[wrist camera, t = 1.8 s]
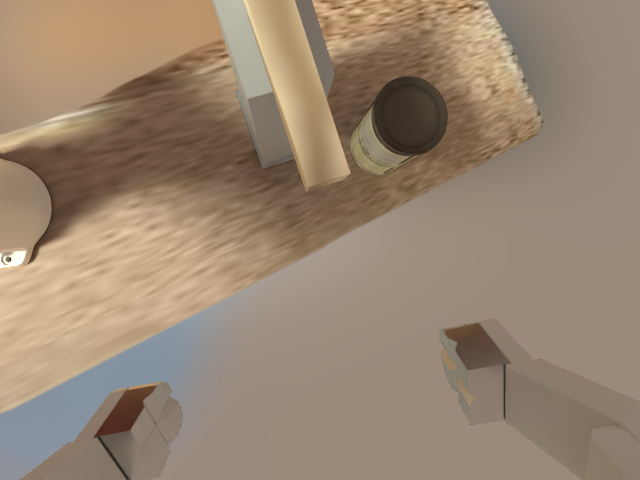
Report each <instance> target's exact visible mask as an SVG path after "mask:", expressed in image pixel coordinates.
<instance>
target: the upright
mask: <svg viewBox="0 0 640 480" xmlns="http://www.w3.org/2000/svg"><path fill="white" fill-rule="evenodd" d="M295 2H296V5H297V9H298V12H299V15H300V18H301V21H302V24H303V27H304V30H305V33H306V37H307V40H308V43H309V46H310V49H311V52H312V55H313V58H314V61H315V65H316V68H317V71H318V74H319V77H320V80H321V83H322V86H323V89H324V93H325V96H326V99H327V97H328V94H329V91H330V88H331V85H332V82H333V80H334V77H335V72H334V69H333V66H332V63H331V60H330V56H329V53H328V50H327V47H326V44H325V41H324V38H323V34H322V31H321V28H320V25H319V22H318V19H317V16H316V12H315V9H314V6H313V3H312V0H295ZM213 4H214V7H215V11H216V14H217V17H218V21H219V24H220V27H221V31H222V34H223V38H224V41H225V44H226V48H227V51H228V55H229V58H230V61H231V65H232V68H233V71H234V75H235V78H236V82H237V85H238V88H239V90H236V93H237V96H238V99H239V102H240V105H241V108H242V111H243V113H244V116H245V119H246V122H247V125H248V128H249V131H250V134H251V137H252V140H253V143H254V146H255V149H256V152H257V155H258V158H259V161H260V164H261V167H262V169H265V168H268V167H271V166H274V165H278V164H281V163H284V162H287V161H291V160H294V159H295V158H294V155H293V152H292V149H291V146H290V143H289V140H288V137H287V134H286V131H285V127H284V124H283V121H282V118H281V115H280V112H279V109H278V106H277V103H276V100H275V97H274V94H273V91H272V88H271V85H270V82H269V79H268V76H267V73H266V70H265V67H264V64H263V61H262V58H261V55H260V52H259V49H258V46H257V43H256V40H255V37H254V34H253V31H252V28H251V25H250V22H249V19H248V16H247V13H246V10H245V7H244V4H243V1H242V0H213Z"/></svg>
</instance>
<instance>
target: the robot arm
mask: <svg viewBox="0 0 640 480" xmlns="http://www.w3.org/2000/svg"><path fill="white" fill-rule="evenodd" d="M51 212H52V206H51V199H50V195H49V193H48V190H47V188H46V186H45V185H44V183H43V182H42V180H41V179H40V178H39V177H38V176H37V175H36V174H35V173H34V172H32V171H31V170H30V169H28V168H26V167H25V166H23V165H21V164H18V163H15V162H12V161H8V160H4V159H1V158H0V269H3V268H11V267H19V266H24V265H26V264H27V263H28V262H29V260H30V258H31V255H32V252H33V248H34V245H35V244H36V242H37V241H38V240H39V239H40V238H41V236H42V235H43V234H44V232H45V231H46V229H47V227H48V225H49V222H50V218H51ZM10 257H11V259H12V260H11V261H10V260H9V258H10ZM439 338H440V342H441V344H442V346H443V348H444V350H443V351H442V352H441V358H442V364H443V368H444V372H445V375H446V377H447V380H448V382H449V384H450V386H451V388H452V389H454V390H455V391H457V392H458V399H459V404H460V405H461V407H462V409H463V411H464V413H465V415H466V417H467V419H468V421H469V423H470V425H473V424H481V423H488V422H494V421H502V420H505V422H506V423H507V424H509V425H510V426H511V427H513V428H514V429H515V430H517V431H518V432H519V433H521V434H522V435H523V436H525V437H526V438H527V439H528V440H530V441H531V442H533V443H534V444H535V445H536V446H538V447H539V448H540V449H542V450H543V451H544V452H546V453H547V454H549V455H550V456H551V457H552V458H554V459H555V460H556V461H558V462H559V463H561V464H562V465H563V466H564V467H566V468H567V469H568V470H570V471H571V472H572V473H574V474H575V475H576V476H578V477H579V478H580V479H582V480H640V401H637V400H635V399H633V398H630V397H628V396H626V395H623V394H621V393H619V392H616V391H614V390H612V389H609V388H607V387H605V386H602V385H600V384H598V383H596V382H593V381H591V380H588V379H586V378H584V377H582V376H579V375H577V374H575V373H572V372H570V371H568V370H565V369H563V368H561V367H559V366H556V365H554V364H552V363H549V362H547V361H545V360H542V359H533V358H532V357H531V356H530V355H529V353H528V352H527V351H526V350H525V349H524V348H523V347H522V346H521V345H520V344H519V343H518V342H517V341H516V339H515V338H514V337H513V336H512V335H511V334H510V333H509V332H508V331H507V330H506V329H505V328H504V326H503V325H502V324H500V322H499V321H498V320H496V319H494V318H493V319H488V320H484V321H479V322H475V323H470V324H465V325H461V326H455V327H450V328H445V329H440V331H439ZM171 393H172V389H171V388H170V386H169V384H168V383H167V382H157V383H151V384H144V385H138V386H132V387H128V388H122V389H116V390H114V391H113V392H111V393H110V394H109V395H108V396H107V398H106V399H105V400H104V402H103V403H102V404H101V406H100V407H99V408H98V410H97V411H96V412H95V414H94V415H93V416H92V418H91V419H90V421H89V422H88V423H87V424H86V426H85V427H84V429H83V430H82V431H81V433H80V434H79V435H78V436H77V438H76V439H75V440H74V442H70V443H67V444H66V445H64V446H63V447H62V448H61V449H59V450H58V451H57V452H55V453H54V454H53V455H51V456H50V457H49V458H48V459H46V460H45V461H44V462H42V463H41V464H40V465H38V466H37V467H36V468H35V469H33V470H32V471H31V472H30V473H28V474H27V475H25V476H24V477H23V478H22V479H20V480H147V479H152V478H157V477H160V475H161V473H162V470H163V468H164V466H165V464H166V461H167V459H168V457H169V455H170V452H171V451H170V448H169V444H170V443H171V442H172V441H173V440H174V439H175V438H176V437H177V436H178V434H179V431H180V429H181V425H182V416H183V415H182V410H181V406H180V404H179V402H178V401H176V400H175V399H173V398H171V397H170V396H171Z"/></svg>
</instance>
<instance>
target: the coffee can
mask: <svg viewBox="0 0 640 480" xmlns="http://www.w3.org/2000/svg"><path fill="white" fill-rule="evenodd" d="M447 118H448V115H447V108H446V105H445V102H444V100H443V98H442V96H441V94H440V93H439V91H438V90H437V89H436V88H435V87H434V86H433V85H431V84H430V83H429V82H427V81H425V80H423V79H420V78H417V77H401V78H397V79H394V80H392V81H391V82H389V83H388V84H386V85H385V86H384V87H383V88H382V89H381V91H380V92H379V93H378V95H377V97H376V99H375V101H374V102H373V104H372V105H371V107H370V108H369V110H368V111H367V113H366V114H365V116H364V117H363V118H362V120H361V121H360V123H359V124H358V125H357V126H356V128H355V129H354V131H353V133H352V136H351V141H350V148H351V153H352V156H353V158H354V160H355V162H356V163H357V164H358V165H359V166H360V167H361V168H362V169H363V170H365V171H367V172H369V173H372V174H378V175H381V174H387V173H389V172H391V171H393V170H395V169H396V168H397V167H399V166H401V165H403V164H404V163H406V162H408V161H410V160H411V159H413V158H415V157H417V156H418V155H421V154H423V153H426V152H428V151H429V150H431V149H432V148H434V147H435V146H436V145H437V144H438V143H439V142H440V140H441V139H442V137H443V135H444V133H445V130H446V126H447Z"/></svg>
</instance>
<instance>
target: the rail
mask: <svg viewBox="0 0 640 480" xmlns="http://www.w3.org/2000/svg"><path fill="white" fill-rule="evenodd" d="M242 1H243V4H244V7H245V10H246V13H247V16H248V19H249V22H250V25H251V28H252V31H253V34H254V37H255V40H256V43H257V46H258V49H259V52H260V55H261V58H262V61H263V64H264V67H265V70H266V73H267V76H268V79H269V82H270V85H271V88H272V91H273V94H274V97H275V100H276V103H277V106H278V109H279V112H280V115H281V118H282V121H283V124H284V127H285V131H286V134H287V137H288V140H289V143H290V146H291V149H292V152H293V155H294V158H295V161H296V164H297V167H298V170H299V173H300V176H301V179H302V182H303V185H304V188H305V191H306V192H307V191H310V190H313V189H317V188H320V187H323V186H326V185H329V184H332V183H335V182H338V181H342V180H344V179H345V178H346V177H347V176H348V175H349V174H351V173H350V170H349V167H348V164H347V161H346V158H345V155H344V152H343V149H342V145H341V142H340V139H339V136H338V133H337V130H336V127H335V124H334V121H333V117H332V114H331V111H330V108H329V105H328V102H327V99H326V96H325V93H324V89H323V86H322V83H321V80H320V77H319V74H318V71H317V68H316V65H315V61H314V58H313V55H312V52H311V49H310V46H309V43H308V40H307V37H306V33H305V30H304V27H303V24H302V21H301V18H300V15H299V12H298V9H297V5H296V2H295V0H242Z"/></svg>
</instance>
